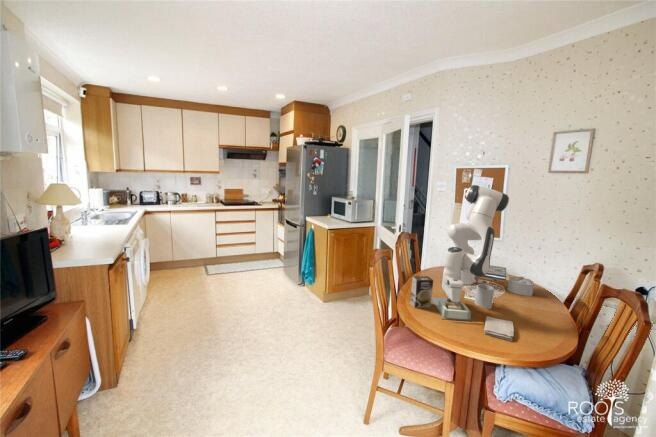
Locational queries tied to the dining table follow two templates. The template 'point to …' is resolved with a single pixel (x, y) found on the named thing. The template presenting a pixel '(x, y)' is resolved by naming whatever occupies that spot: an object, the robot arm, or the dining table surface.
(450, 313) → the dock
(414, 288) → the coffee box
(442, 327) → the dining table surface
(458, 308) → the beige box with tab
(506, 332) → the washcloth
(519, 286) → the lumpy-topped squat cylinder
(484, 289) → the mug
